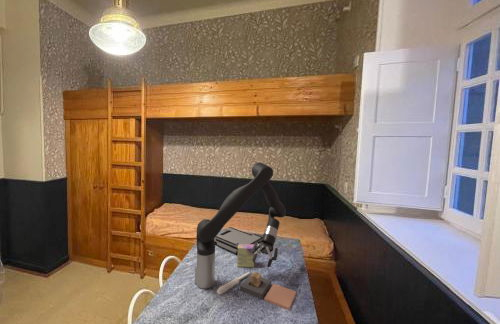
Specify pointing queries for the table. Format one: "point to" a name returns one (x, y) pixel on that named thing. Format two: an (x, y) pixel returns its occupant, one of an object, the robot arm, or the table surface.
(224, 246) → the game console
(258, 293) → the pocket frame
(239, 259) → the box
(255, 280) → the oak block
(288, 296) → the terracotta tile
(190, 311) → the table surface
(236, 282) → the toothed blade
